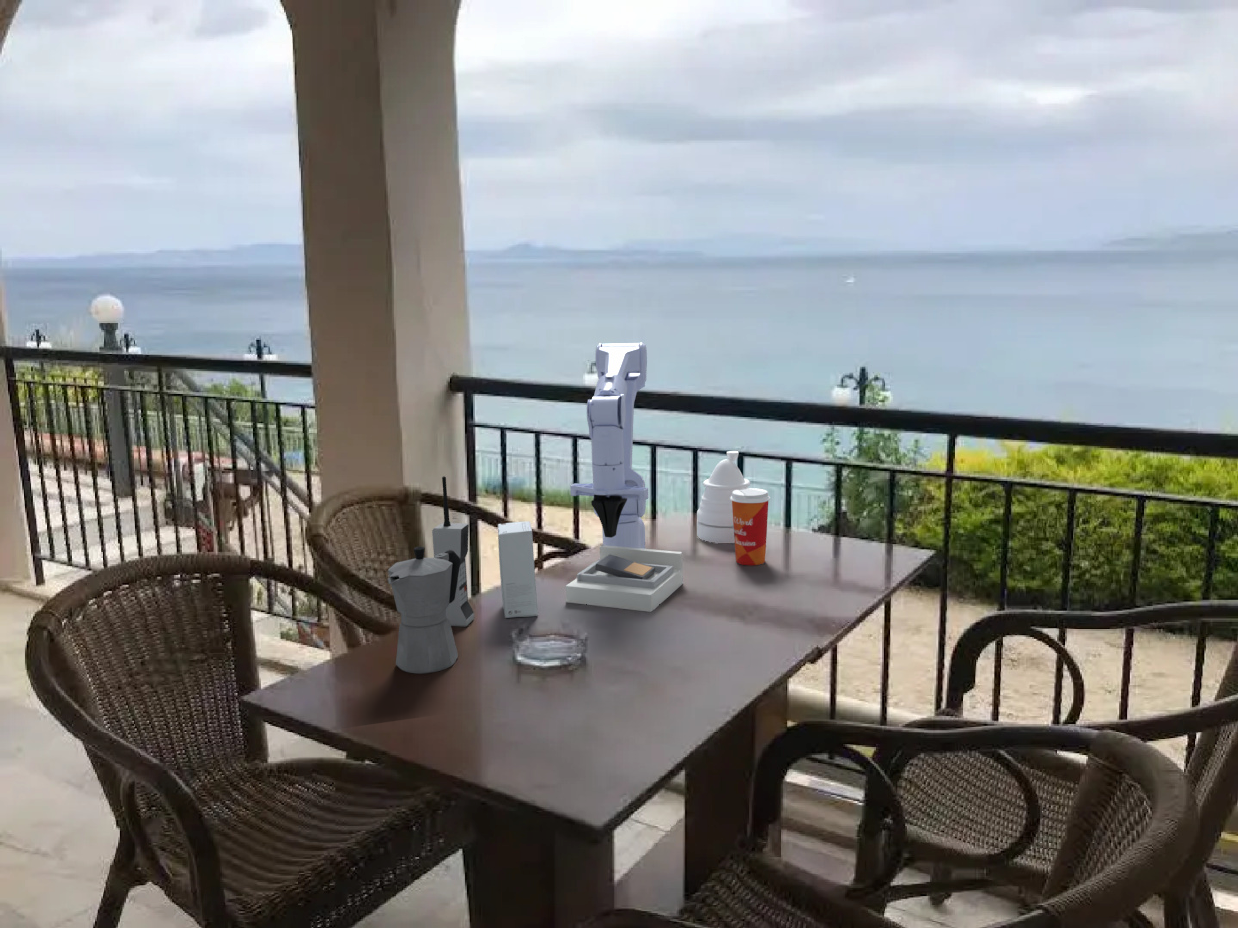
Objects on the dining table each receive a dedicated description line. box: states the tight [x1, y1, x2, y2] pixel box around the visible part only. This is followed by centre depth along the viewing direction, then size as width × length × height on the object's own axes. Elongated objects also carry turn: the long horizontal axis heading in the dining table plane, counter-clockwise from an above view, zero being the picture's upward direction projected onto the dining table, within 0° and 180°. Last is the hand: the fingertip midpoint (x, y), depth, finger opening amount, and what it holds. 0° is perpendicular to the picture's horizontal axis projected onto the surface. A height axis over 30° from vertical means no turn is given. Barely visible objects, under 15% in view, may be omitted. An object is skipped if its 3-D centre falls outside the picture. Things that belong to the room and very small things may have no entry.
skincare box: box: [497, 520, 539, 619], centre depth 172 cm, size 8×6×15 cm
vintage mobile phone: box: [431, 475, 475, 628], centre depth 165 cm, size 4×5×25 cm
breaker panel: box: [565, 544, 684, 613], centre depth 180 cm, size 16×16×6 cm
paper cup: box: [730, 487, 771, 567], centre depth 195 cm, size 8×8×14 cm
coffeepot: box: [387, 545, 460, 674], centre depth 150 cm, size 15×9×18 cm, turn 150°
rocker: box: [595, 554, 655, 580], centre depth 179 cm, size 6×9×1 cm, turn 67°
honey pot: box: [696, 450, 751, 544], centre depth 214 cm, size 13×13×18 cm
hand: (610, 536), depth 183 cm, fingers closed
